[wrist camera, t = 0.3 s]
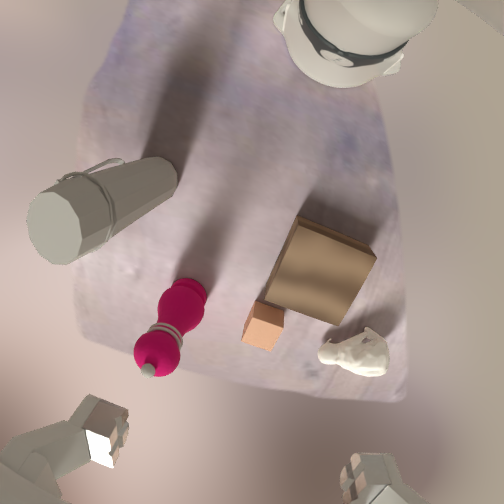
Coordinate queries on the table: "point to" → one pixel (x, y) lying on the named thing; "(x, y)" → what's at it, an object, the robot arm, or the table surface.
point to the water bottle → (96, 206)
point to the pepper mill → (170, 328)
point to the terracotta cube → (263, 326)
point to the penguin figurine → (358, 354)
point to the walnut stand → (319, 271)
